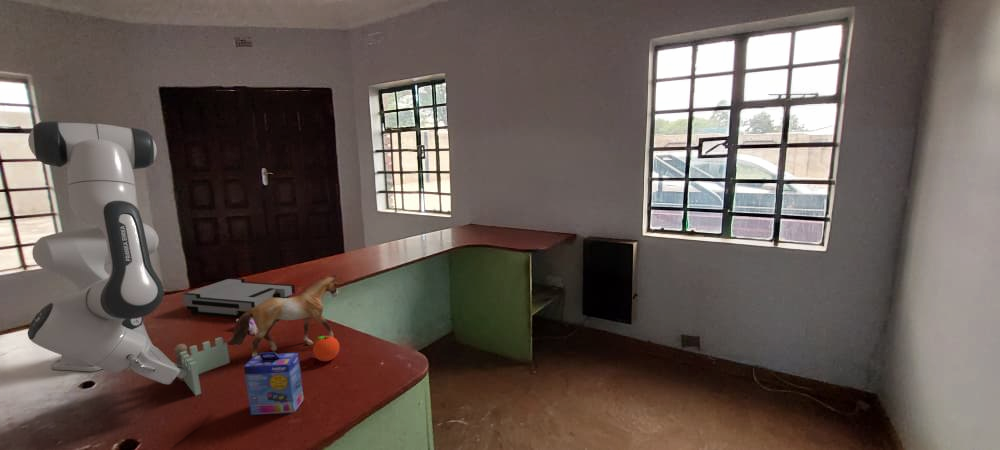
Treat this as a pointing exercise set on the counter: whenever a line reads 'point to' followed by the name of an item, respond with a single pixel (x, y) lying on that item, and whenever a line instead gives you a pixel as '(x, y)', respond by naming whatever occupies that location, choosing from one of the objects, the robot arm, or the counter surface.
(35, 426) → the counter surface
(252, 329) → the rabbit figure
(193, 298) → the game console
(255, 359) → the ink cartridge box
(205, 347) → the fence post and fixed panel
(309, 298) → the horse figurine
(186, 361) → the folding fence panel
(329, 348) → the clementine
